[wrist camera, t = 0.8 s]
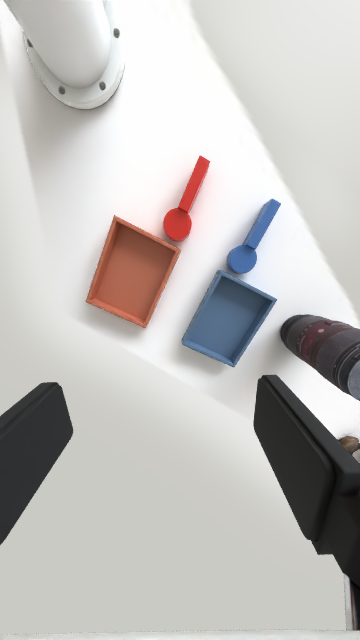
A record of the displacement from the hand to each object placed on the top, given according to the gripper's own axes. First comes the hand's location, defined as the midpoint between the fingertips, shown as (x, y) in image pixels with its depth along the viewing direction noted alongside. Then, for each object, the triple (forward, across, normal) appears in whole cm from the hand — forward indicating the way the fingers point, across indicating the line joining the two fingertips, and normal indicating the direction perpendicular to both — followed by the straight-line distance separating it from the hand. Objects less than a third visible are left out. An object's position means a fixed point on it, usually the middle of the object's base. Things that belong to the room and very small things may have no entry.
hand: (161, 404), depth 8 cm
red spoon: (+25, -3, -17) cm, 30 cm away
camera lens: (+25, -24, +6) cm, 35 cm away
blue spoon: (+25, -14, -11) cm, 30 cm away
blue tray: (+25, -9, +3) cm, 27 cm away
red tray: (+25, +7, -6) cm, 26 cm away
